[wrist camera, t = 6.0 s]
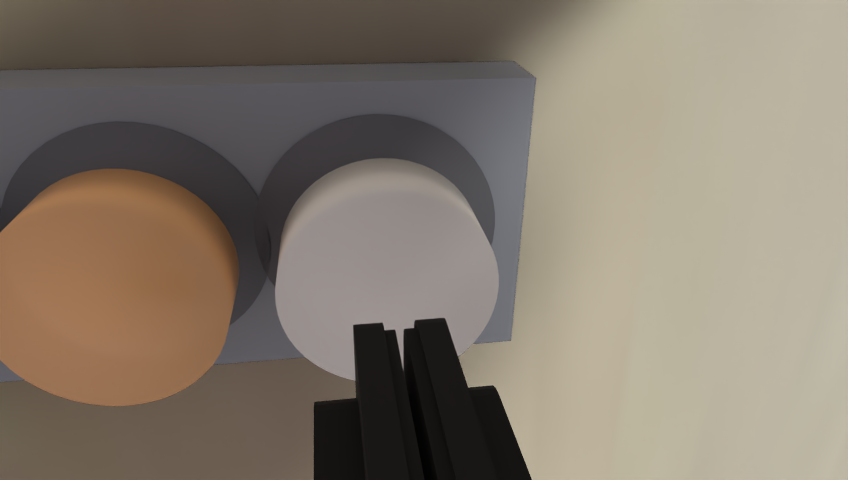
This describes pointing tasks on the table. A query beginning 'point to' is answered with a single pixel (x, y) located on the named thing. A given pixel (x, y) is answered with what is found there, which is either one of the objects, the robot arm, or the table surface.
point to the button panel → (276, 152)
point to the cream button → (381, 260)
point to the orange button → (115, 288)
